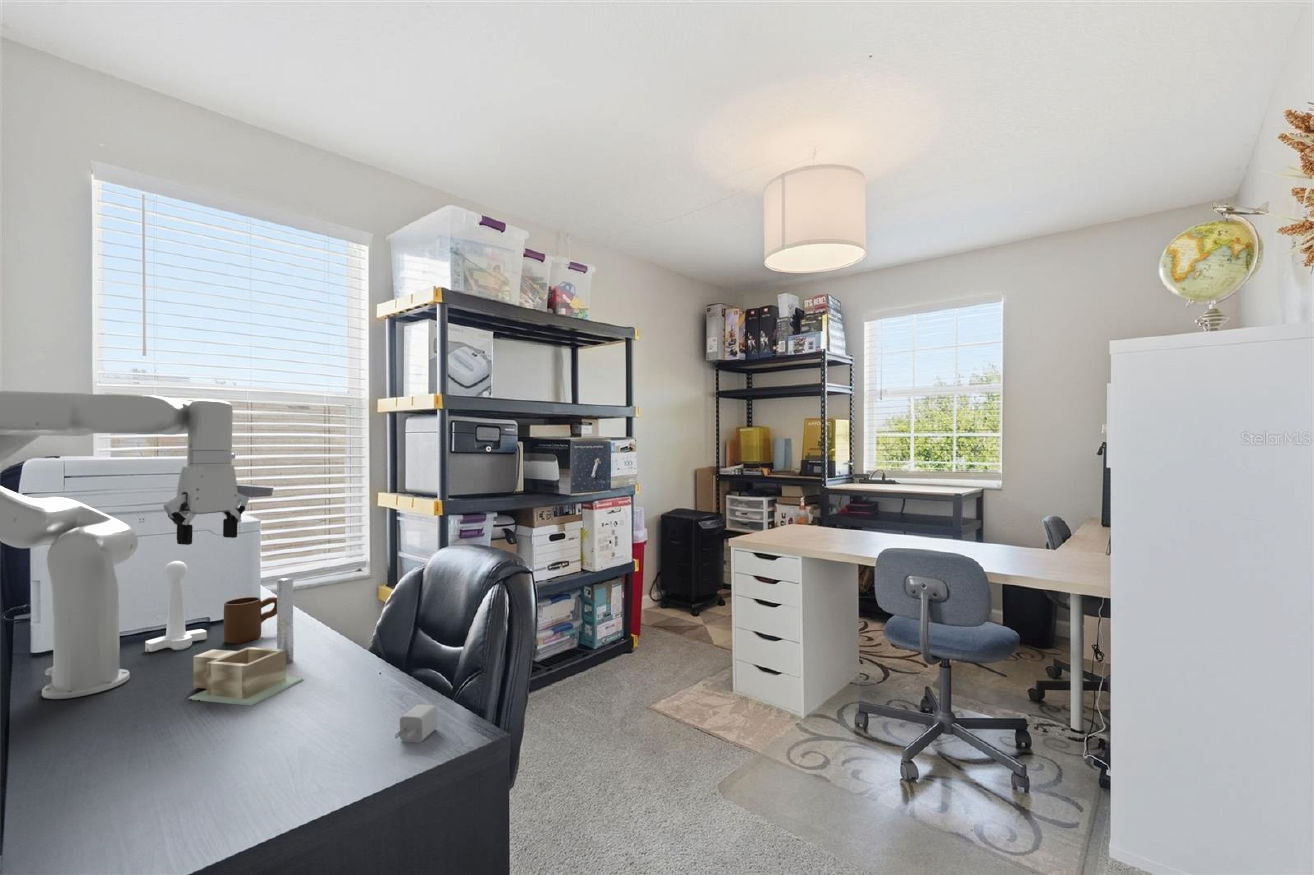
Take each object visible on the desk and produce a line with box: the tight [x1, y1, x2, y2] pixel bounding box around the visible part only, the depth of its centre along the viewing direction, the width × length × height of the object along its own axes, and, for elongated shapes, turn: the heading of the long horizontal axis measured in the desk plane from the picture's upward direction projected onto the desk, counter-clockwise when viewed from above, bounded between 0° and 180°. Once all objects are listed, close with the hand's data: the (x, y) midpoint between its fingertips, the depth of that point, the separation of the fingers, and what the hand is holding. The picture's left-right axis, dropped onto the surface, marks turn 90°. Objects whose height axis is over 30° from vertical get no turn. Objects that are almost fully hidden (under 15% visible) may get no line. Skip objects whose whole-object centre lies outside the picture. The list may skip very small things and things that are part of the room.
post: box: [276, 577, 295, 665], centre depth 132 cm, size 3×3×18 cm
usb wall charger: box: [394, 704, 438, 743], centre depth 96 cm, size 4×7×4 cm, turn 170°
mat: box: [188, 676, 304, 707], centre depth 117 cm, size 14×12×1 cm
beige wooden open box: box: [192, 646, 287, 699], centre depth 117 cm, size 15×9×6 cm, turn 78°
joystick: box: [144, 560, 208, 653], centre depth 143 cm, size 11×8×20 cm
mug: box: [223, 596, 277, 645], centre depth 149 cm, size 12×8×9 cm, turn 134°
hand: (208, 540), depth 126 cm, fingers open, 9 cm apart
